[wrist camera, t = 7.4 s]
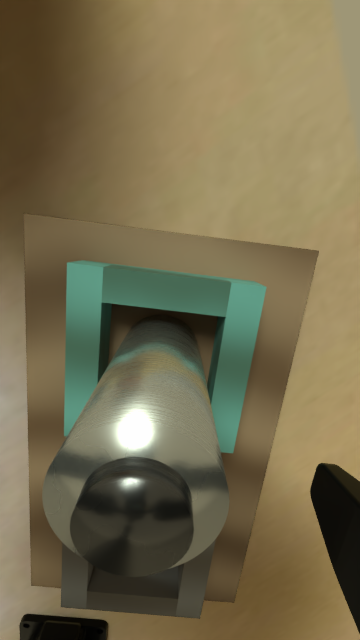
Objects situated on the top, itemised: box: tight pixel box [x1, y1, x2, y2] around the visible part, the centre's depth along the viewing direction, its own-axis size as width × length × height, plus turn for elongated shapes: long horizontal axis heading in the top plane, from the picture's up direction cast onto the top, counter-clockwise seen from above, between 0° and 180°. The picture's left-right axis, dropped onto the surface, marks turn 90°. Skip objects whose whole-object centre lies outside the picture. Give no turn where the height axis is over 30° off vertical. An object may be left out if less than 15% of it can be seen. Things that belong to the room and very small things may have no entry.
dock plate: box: [24, 213, 319, 619], centre depth 16 cm, size 24×14×3 cm, turn 173°
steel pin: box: [42, 315, 229, 577], centre depth 10 cm, size 4×4×10 cm
